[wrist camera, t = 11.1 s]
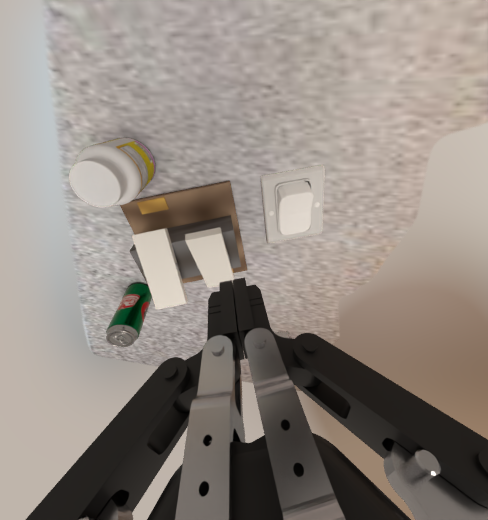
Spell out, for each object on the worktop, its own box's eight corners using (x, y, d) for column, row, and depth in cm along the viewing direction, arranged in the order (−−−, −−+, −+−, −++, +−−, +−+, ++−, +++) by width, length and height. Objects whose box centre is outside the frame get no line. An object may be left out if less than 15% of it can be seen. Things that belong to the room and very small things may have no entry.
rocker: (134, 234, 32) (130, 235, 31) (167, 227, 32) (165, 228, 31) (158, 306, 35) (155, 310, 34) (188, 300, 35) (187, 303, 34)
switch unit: (121, 202, 35) (103, 219, 29) (229, 180, 35) (232, 193, 30) (162, 284, 45) (155, 309, 40) (246, 267, 46) (251, 289, 40)
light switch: (332, 166, 33) (328, 239, 40) (321, 163, 37) (318, 231, 43) (263, 178, 33) (270, 250, 40) (258, 174, 37) (266, 241, 43)
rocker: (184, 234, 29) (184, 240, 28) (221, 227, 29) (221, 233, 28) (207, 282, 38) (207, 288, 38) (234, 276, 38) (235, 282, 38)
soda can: (143, 278, 44) (123, 325, 34) (158, 294, 47) (143, 342, 37) (122, 287, 45) (96, 336, 35) (138, 302, 47) (118, 352, 37)
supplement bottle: (110, 179, 33) (61, 209, 23) (107, 131, 30) (48, 139, 19) (155, 189, 35) (130, 221, 24) (157, 144, 31) (129, 159, 21)
